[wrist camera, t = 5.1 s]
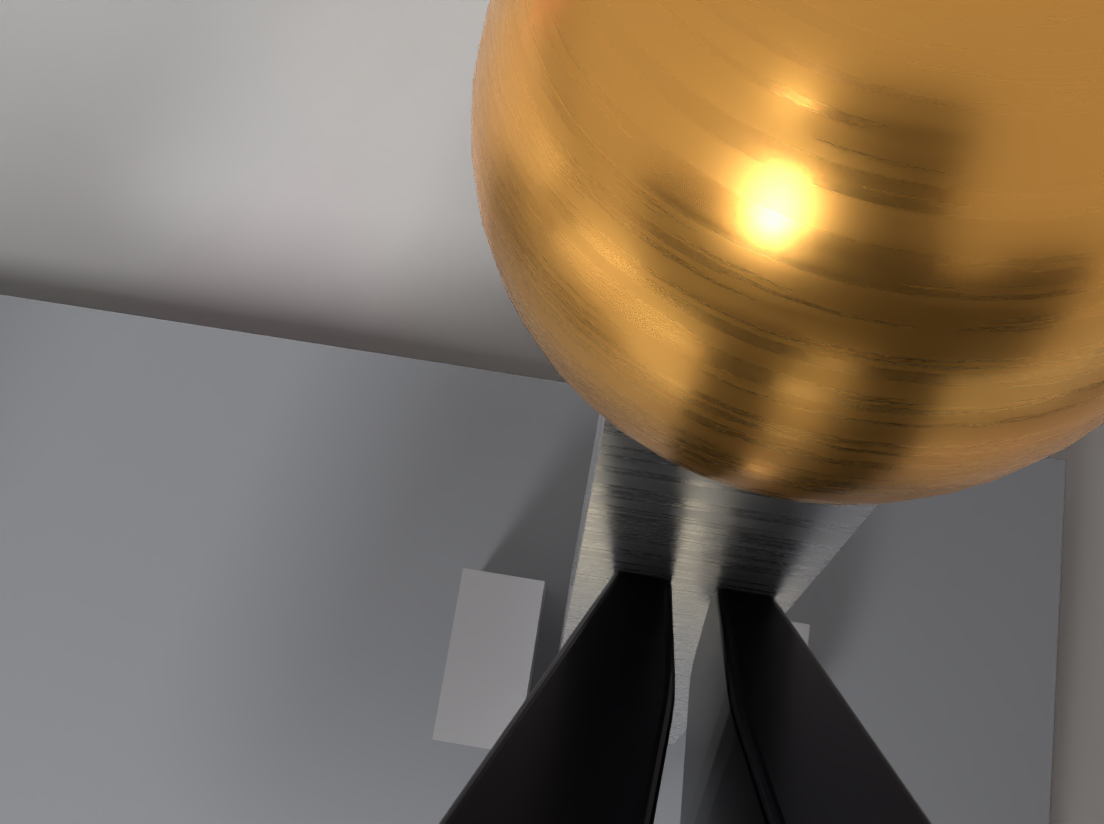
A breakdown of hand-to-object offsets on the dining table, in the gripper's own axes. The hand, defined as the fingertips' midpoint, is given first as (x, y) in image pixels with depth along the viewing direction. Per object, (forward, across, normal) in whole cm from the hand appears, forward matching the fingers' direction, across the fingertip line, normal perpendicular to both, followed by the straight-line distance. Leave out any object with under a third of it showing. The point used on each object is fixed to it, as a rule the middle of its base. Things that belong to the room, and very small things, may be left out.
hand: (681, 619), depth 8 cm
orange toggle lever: (+4, 0, +4) cm, 6 cm away
